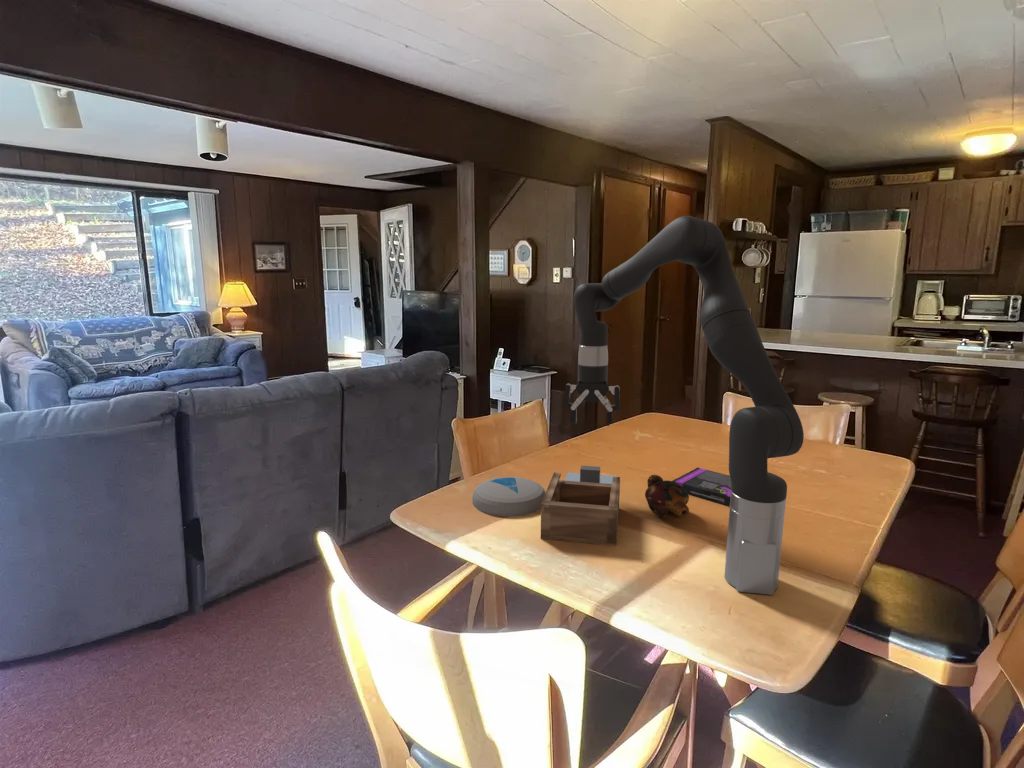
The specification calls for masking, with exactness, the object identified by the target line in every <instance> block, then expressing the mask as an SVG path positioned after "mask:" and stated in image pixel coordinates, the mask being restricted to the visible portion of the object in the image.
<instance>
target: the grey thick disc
mask: <svg viewBox="0 0 1024 768" xmlns="http://www.w3.org/2000/svg"><path fill="white" fill-rule="evenodd" d="M545 493H546V490H545V488H544V487H543V486H542V485H541V484H540V483H538V482H537V481H534V480H531V479H529V478H523V477H518V476H503V477H500V476H499V477H495V478H490V479H488V480H485V481H483V482H481V483H479V484H477V486H476V487H475V489H474V490H473V493H472V496H471V497H472V500H471V501H472V505H473V507H474V508H475V509H476V510H478V511H480V512H482V513H484V514H488V515H492V516H498V517H499V516H500V517H519V516H526V515H531V514H533V513H536V512H539V511H541V503H542V500H543V498H544V496H545Z"/></svg>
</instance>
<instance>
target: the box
mask: <svg viewBox="0 0 1024 768" xmlns="http://www.w3.org/2000/svg"><path fill="white" fill-rule="evenodd" d="M672 481H673V482H675V483H678V484H679V485H681V486H682V487H683V488H684V489H685V490H686V491H687V493H688V494H689V496H691V495H692V496H691V497H695V498H699V499H703V500H705V501H709V502H712V503H716V504H719V505H723V506H726V507H729V508H730V497H731V478H730V474H729V475H728V474H724V473H721V472H717V471H714V470H709V469H705V468H701V467H696V468H694V469H692V470H690V471H689V472H686V473H685V474H683V475H681V476H679V477H676V478H675V479H673V480H672Z"/></svg>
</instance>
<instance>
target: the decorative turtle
mask: <svg viewBox="0 0 1024 768" xmlns="http://www.w3.org/2000/svg"><path fill="white" fill-rule="evenodd" d="M644 497H645V500H646V502H647V506H648V508H649V510H650V511H652V512H656V514H657V516H658V517H659V518H664V517H666V516H667V514H668V513H669V512H671V513H673V514H675V515H676V516H678V517H681V518H683V517H686V516H688V514H689V512H690V508H689V507H688V505H687V504H688V502H689V501H690V495H688V493H687V491H686V490H685V489H684V488H683V487H682V486H681V485H679V484H678V483H675V482H673V480H664V479H663V477H662V476H660V475H658V474H651V475H650V476H649V477H648V478H647V488H646V490H645V492H644Z"/></svg>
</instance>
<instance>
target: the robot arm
mask: <svg viewBox="0 0 1024 768" xmlns="http://www.w3.org/2000/svg"><path fill="white" fill-rule="evenodd" d="M671 262H672V263H673V262H678V263H681V264H686V265H689V266H690V265H691V266H692V267H693V268H694V269H695V271H696V273H697V275H698V278H699V280H700V282H701V285H702V289H703V299H702V303H701V308H700V315H699V317H700V318H699V320H700V325H701V330H702V332H703V335H704V338H705V341H706V343H707V345H708V349H709V350H710V353H711V354H712V356H713V358H715V360H717V362H718V363H719V364H720V365H721V366H722V367H723V368H724V369H725V370H726V371H727V372H728V373H730V374H731V375H732V376H733V377H734V378H736V380H737V381H738V382H739V383H740V384H741V385H742V386H743V387H744V388H745V389H746V391H747V393H748V395H749V396H750V398H751V400H752V402H753V405H754V406H749V407H743V408H740V409H739V410H737V411H736V412H735V414H734V415H733V417H732V419H731V422H730V426H729V437H728V438H729V439H728V443H729V445H728V448H729V449H728V472H729V476H730V478H731V497H730V507H729V508H728V509H729V511H728V524H727V525H728V526H727V536H726V537H727V538H726V550H725V552H726V553H725V565H724V578H725V580H726V582H727V583H728V584H729V585H731V586H733V588H735V589H736V591H737V592H741V593H748V594H749V593H750V594H761V595H770V596H773V595H775V591H776V590H777V588H778V585H779V576H780V566H781V565H780V564H781V556H782V545H783V536H784V534H783V533H784V524H785V514H786V503H787V495H788V484H787V482H786V480H785V479H784V478H782V477H781V476H779V475H777V474H774V473H772V472H769V471H768V459H773V458H784V457H788V456H789V457H790V456H792V455H795V454H797V453H798V452H799V451H800V449H801V448H802V447H803V444H804V440H805V439H804V435H805V434H804V427H803V424H802V421H801V418H800V415H799V413H798V411H797V409H796V407H795V406H794V404H793V402H792V400H791V398H790V397H789V395H788V393H787V391H786V389H785V388H784V386H783V383H782V382H781V381H780V378H779V376H778V374H777V373H776V370H775V368H774V367H773V366H774V365H773V364H772V362H771V359H770V357H769V354H768V353H767V351H766V349H765V346H764V344H763V341H762V339H761V336H760V333H759V330H758V327H757V325H756V322H755V320H754V317H753V315H752V313H751V311H750V308H749V307H748V304H747V302H746V300H745V297H744V295H743V292H742V289H741V287H740V285H739V282H738V280H737V277H736V275H735V271H734V269H733V265H732V262H731V258H730V254H729V251H728V247H727V243H726V240H725V237H724V234H723V232H722V230H721V229H720V227H719V226H717V225H716V224H715V223H713V222H711V221H708V220H705V219H702V218H698V217H695V216H691V215H681V216H679V217H677V218H675V219H674V220H672V221H671V222H670V223H668V224H667V225H666V226H665V227H664V228H663V229H662V230H660V231H659V232H658V233H657V234H656V235H655V236H654V237H653V238H652V239H651V240H650V241H648V242H647V243H646V244H645V245H644V246H643V247H642V248H641V249H640V250H639V251H638V252H636V253H635V254H634V255H633V256H632V257H630V258H629V259H628V260H626V261H624V262H623V263H621V264H619V265H618V266H616V267H615V268H613V269H612V270H610V271H608V272H607V273H606V274H605V275H604V276H603V277H602V280H601V282H600V283H599V282H597V283H596V282H595V283H593V282H592V283H590V282H589V283H582V284H580V285H578V286H577V287H576V289H575V290H574V294H573V306H574V310H575V314H576V319H577V323H578V327H579V345H578V347H579V348H578V355H577V358H578V359H577V362H578V363H577V384H571V383H569V382H568V383H566V385H565V386H564V387H565V388H564V400H563V407H564V408H567V409H569V410H570V422H572V423H573V425H576V424H577V422H578V417H577V416H578V409H577V408H578V407H579V405H580V404H581V403H582V402H583V401H584V402H585V403H591V402H593V403H599V402H600V403H601V404H602V405H603V407H605V409H606V410H607V411H606V425H605V426H607V427H609V426H610V425H612V423H613V412H614V411H618V410H620V409H621V393H620V390H621V388H620V385H618V384H616V385H609V383H608V371H609V366H608V365H609V351H608V350H609V349H608V348H609V347H608V336H609V335H608V333H609V330H608V328H609V327H608V324H607V323H606V322H604V321H601V320H598V319H597V314H596V312H605V311H609V310H611V309H613V308H614V307H616V306H617V305H618V304H619V303H620V302H621V301H622V300H623V298H625V297H628V296H629V295H631V294H632V293H635V292H637V291H638V290H640V289H641V288H642V287H644V286H645V285H646V283H647V282H649V279H650V278H651V275H652V274H653V272H654V271H655V270H656V269H658V268H659V267H661V266H663V265H665V264H669V263H671ZM574 391H576V392H577V393H578V396H577V398H576V399H575V401H574V402H571V394H572V393H573V392H574ZM609 391H610V392H611V394H612V395H614V404H611V402H610V400H609V399H608V398H607V396H606V395H607V394H608V392H609Z"/></svg>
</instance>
